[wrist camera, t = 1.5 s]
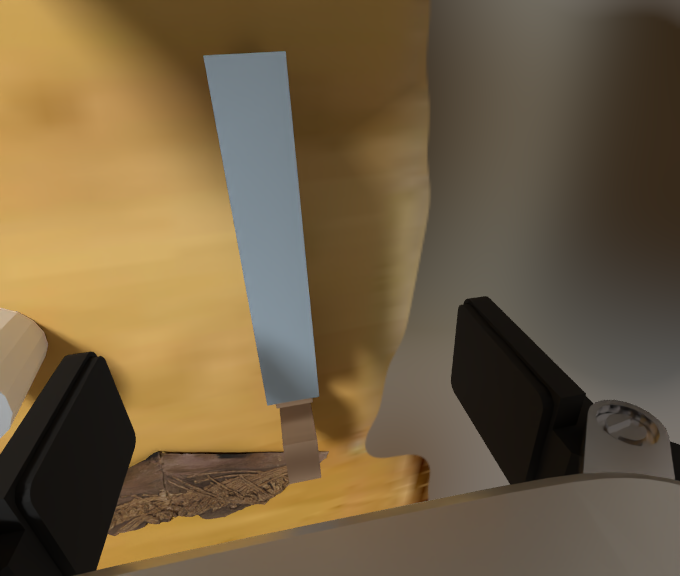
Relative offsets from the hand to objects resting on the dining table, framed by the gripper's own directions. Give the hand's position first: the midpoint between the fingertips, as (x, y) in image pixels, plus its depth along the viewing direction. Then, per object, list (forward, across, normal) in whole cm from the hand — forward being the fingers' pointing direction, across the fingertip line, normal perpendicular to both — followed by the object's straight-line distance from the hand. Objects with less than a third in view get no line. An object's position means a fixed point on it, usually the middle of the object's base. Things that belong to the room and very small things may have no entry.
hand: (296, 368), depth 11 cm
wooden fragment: (+20, +11, +28) cm, 37 cm away
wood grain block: (+20, 0, +14) cm, 24 cm away
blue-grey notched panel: (+20, 0, -1) cm, 20 cm away
